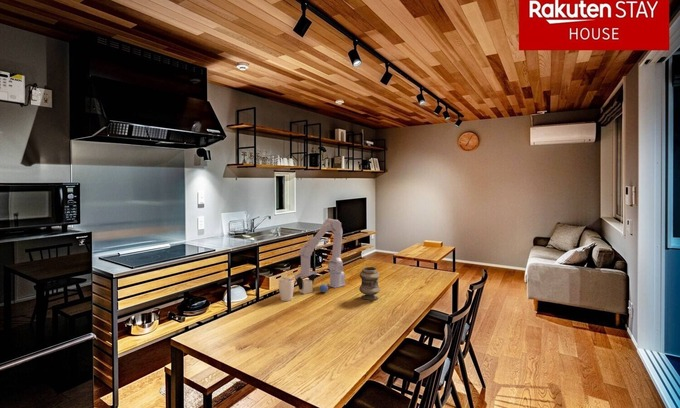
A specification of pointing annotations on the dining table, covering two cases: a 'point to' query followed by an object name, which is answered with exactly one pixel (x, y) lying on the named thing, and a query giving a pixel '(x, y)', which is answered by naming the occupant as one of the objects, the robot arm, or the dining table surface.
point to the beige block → (306, 286)
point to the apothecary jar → (369, 283)
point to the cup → (286, 288)
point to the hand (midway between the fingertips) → (305, 287)
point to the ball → (323, 288)
